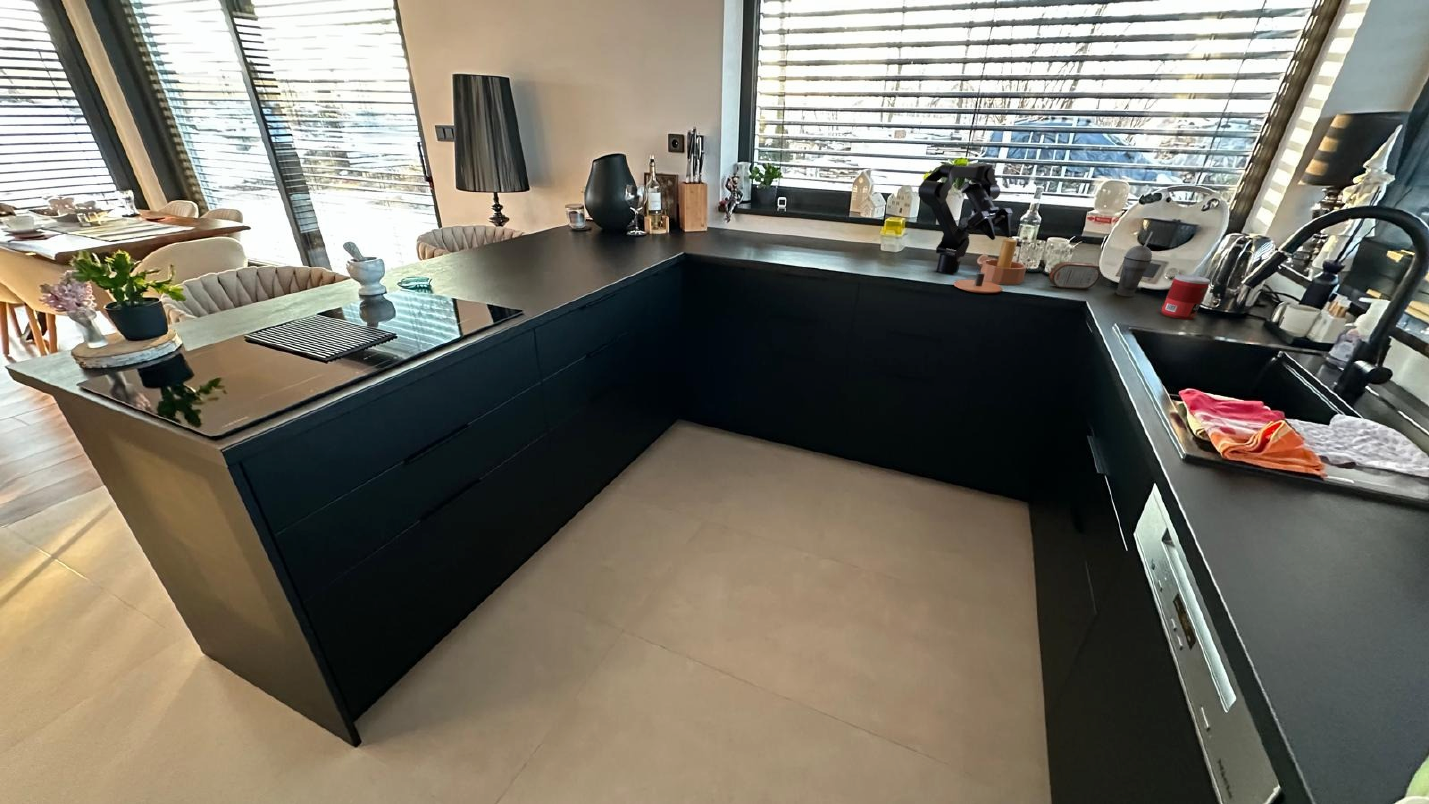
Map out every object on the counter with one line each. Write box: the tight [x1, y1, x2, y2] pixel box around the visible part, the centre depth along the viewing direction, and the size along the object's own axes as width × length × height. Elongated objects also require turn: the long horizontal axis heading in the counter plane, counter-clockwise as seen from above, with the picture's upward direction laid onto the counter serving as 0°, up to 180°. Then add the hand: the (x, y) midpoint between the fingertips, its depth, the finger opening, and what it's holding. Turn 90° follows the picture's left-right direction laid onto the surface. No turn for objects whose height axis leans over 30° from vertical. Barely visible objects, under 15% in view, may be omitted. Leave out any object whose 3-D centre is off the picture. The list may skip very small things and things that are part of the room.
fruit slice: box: [976, 253, 997, 268], centre depth 206 cm, size 8×7×5 cm
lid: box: [953, 271, 1003, 294], centre depth 182 cm, size 15×15×5 cm
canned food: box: [1161, 274, 1211, 320], centre depth 159 cm, size 8×8×11 cm
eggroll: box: [996, 238, 1018, 268], centre depth 191 cm, size 4×4×13 cm
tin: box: [1048, 261, 1101, 290], centre depth 184 cm, size 15×3×8 cm, turn 84°
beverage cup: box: [1116, 231, 1154, 298], centre depth 176 cm, size 7×7×20 cm
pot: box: [979, 258, 1028, 286], centre depth 193 cm, size 14×14×6 cm
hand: (1001, 238), depth 190 cm, fingers open, 9 cm apart
